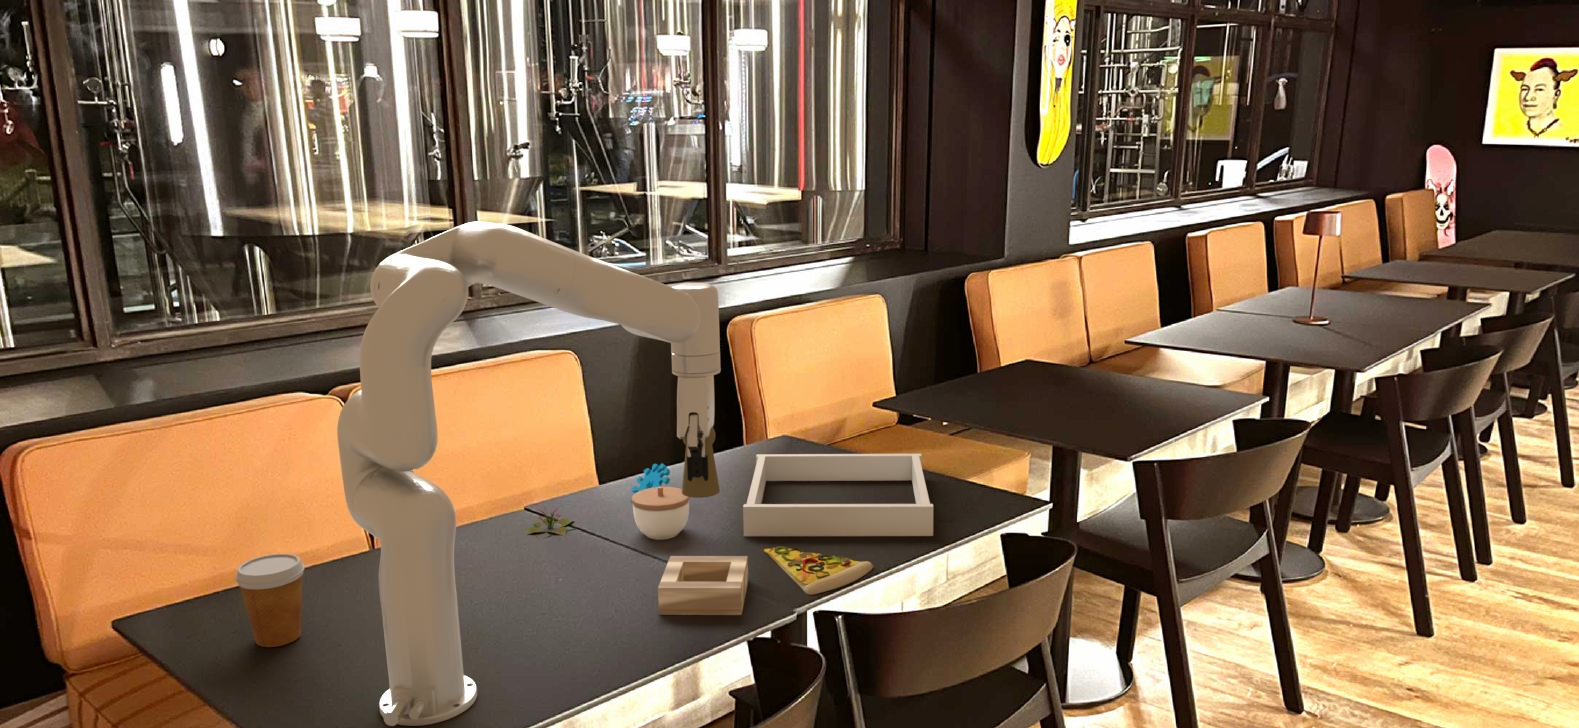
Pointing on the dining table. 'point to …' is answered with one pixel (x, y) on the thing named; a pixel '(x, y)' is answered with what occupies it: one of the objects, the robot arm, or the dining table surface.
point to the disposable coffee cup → (273, 597)
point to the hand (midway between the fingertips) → (700, 474)
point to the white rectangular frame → (838, 516)
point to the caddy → (703, 585)
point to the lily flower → (550, 524)
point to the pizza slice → (818, 569)
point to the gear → (652, 478)
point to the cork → (699, 485)
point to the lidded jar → (660, 511)
